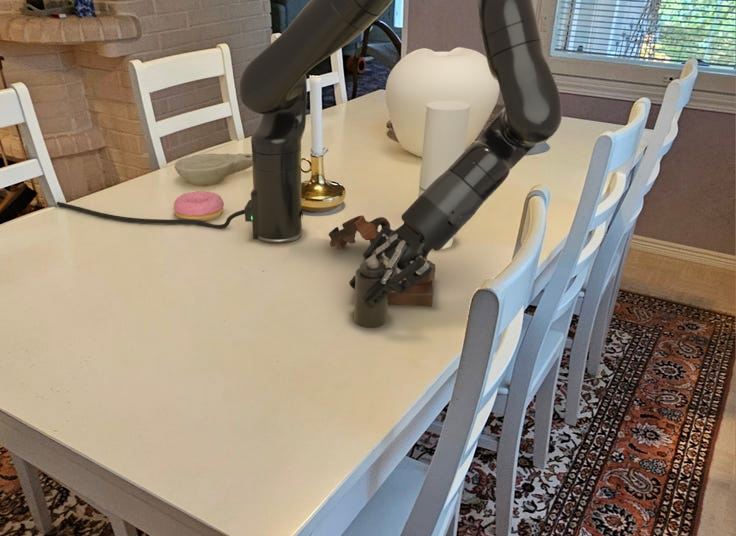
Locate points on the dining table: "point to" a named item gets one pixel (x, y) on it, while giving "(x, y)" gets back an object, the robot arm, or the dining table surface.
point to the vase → (438, 91)
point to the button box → (416, 292)
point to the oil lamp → (211, 167)
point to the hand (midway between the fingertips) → (360, 295)
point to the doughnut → (198, 206)
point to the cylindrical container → (442, 141)
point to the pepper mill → (364, 283)
